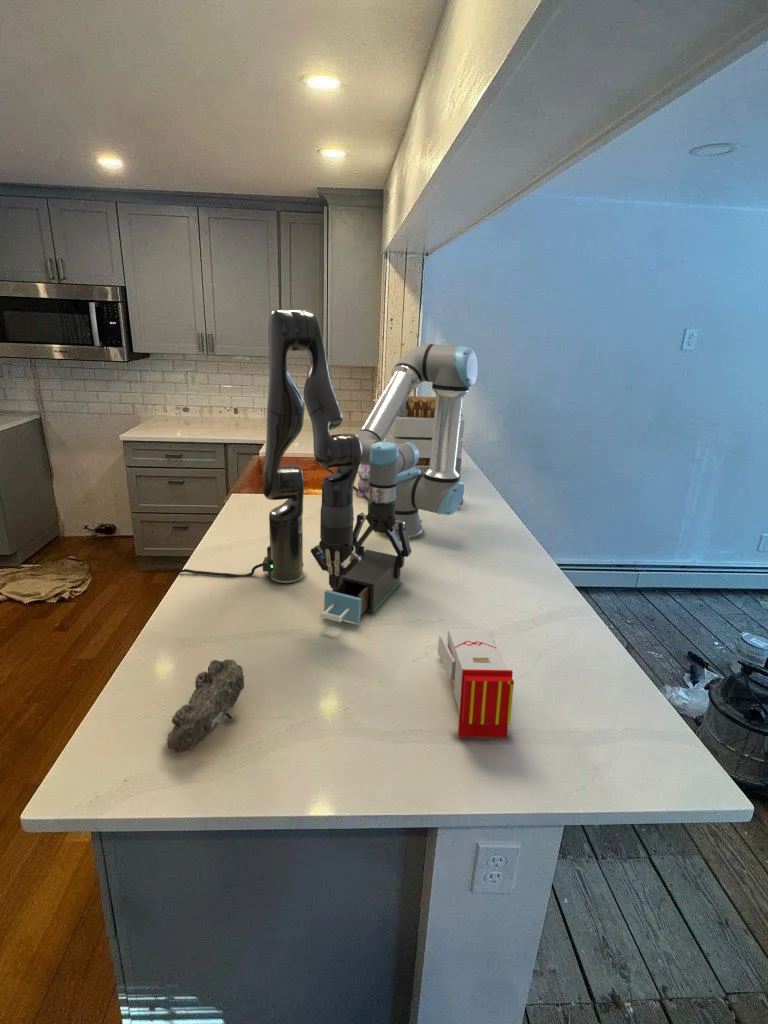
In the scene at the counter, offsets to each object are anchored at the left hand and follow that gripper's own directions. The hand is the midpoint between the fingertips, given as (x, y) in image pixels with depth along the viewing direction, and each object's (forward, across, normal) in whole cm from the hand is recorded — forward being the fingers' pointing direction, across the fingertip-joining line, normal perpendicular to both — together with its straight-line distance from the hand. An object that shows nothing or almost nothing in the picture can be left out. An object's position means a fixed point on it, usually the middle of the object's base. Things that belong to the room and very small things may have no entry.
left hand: (335, 587), depth 136 cm
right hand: (+8, 0, +27) cm, 28 cm away
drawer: (+10, 0, +9) cm, 14 cm away
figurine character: (+12, 0, +106) cm, 106 cm away
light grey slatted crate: (+13, -28, +144) cm, 147 cm away
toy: (+11, +37, -10) cm, 39 cm away
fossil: (+11, -6, -39) cm, 41 cm away
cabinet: (+11, 0, +20) cm, 23 cm away
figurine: (+13, -36, +100) cm, 107 cm away
